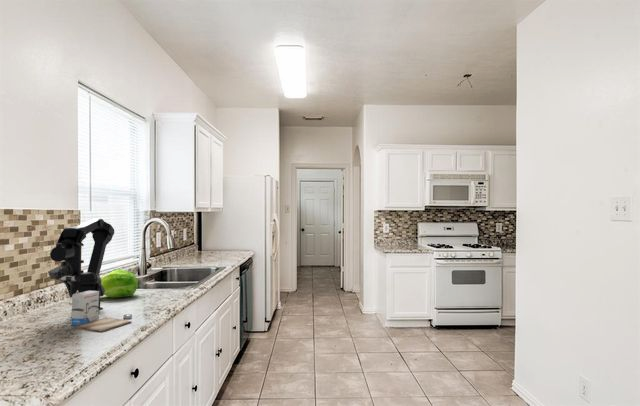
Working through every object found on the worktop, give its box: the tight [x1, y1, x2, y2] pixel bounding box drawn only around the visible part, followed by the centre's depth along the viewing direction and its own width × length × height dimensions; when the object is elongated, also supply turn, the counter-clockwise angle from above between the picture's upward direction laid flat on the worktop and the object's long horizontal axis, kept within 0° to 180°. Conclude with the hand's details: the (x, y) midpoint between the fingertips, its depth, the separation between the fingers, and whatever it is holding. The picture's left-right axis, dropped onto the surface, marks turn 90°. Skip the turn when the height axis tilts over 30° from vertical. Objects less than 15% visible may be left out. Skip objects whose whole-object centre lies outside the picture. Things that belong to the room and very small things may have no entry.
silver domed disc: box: [122, 313, 133, 320], centre depth 154 cm, size 3×3×1 cm
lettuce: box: [100, 269, 139, 298], centre depth 192 cm, size 15×22×15 cm
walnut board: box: [74, 317, 132, 333], centre depth 144 cm, size 14×13×1 cm
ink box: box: [71, 291, 99, 326], centre depth 148 cm, size 9×5×12 cm, turn 167°
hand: (72, 297), depth 151 cm, fingers closed
